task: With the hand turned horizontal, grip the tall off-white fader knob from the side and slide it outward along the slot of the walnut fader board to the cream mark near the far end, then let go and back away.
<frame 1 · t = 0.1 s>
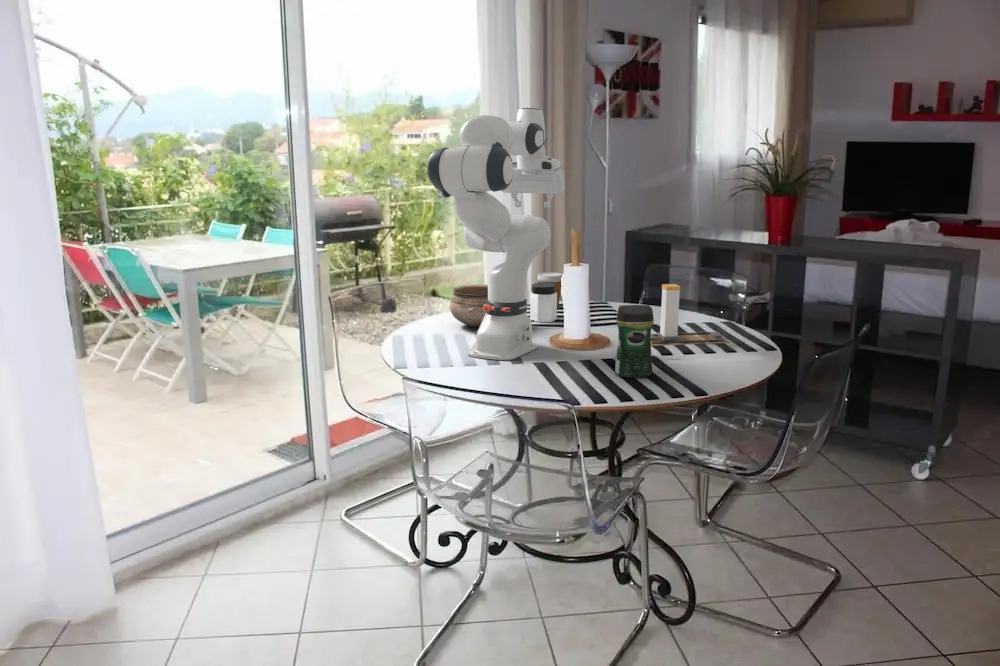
hand: (532, 207, 251), 39 cm above the table, tool pointing down, fingers open, 8 cm apart
fader board: (681, 342, 243), on the table
jar: (543, 320, 272), on the table
coffee jar: (633, 375, 212), on the table
cooking pot: (479, 326, 263), on the table
fader: (669, 311, 240), point 10 cm above the table, slide at 0.0 cm
disposable coffee cup: (549, 307, 291), on the table
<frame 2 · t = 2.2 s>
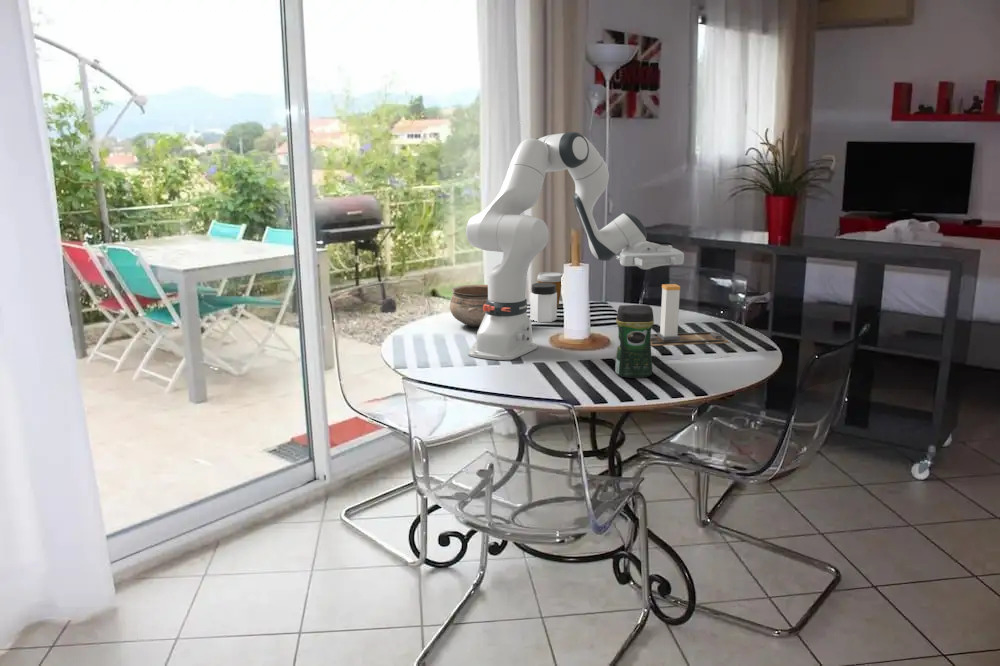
hand: (658, 262, 248), 22 cm above the table, tool horizontal, fingers open, 8 cm apart
nothing on the table moved.
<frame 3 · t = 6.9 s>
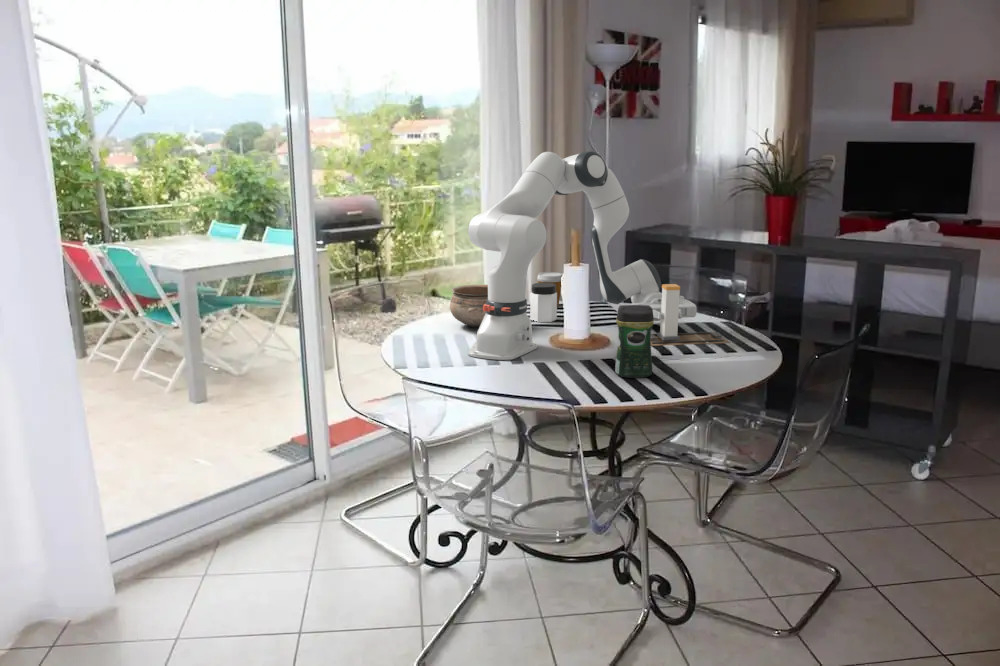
hand: (670, 316, 239), 9 cm above the table, tool horizontal, fingers closed on fader, 4 cm apart
fader: (669, 311, 240), point 10 cm above the table, slide at 0.0 cm, touching gripper
everything else where it was.
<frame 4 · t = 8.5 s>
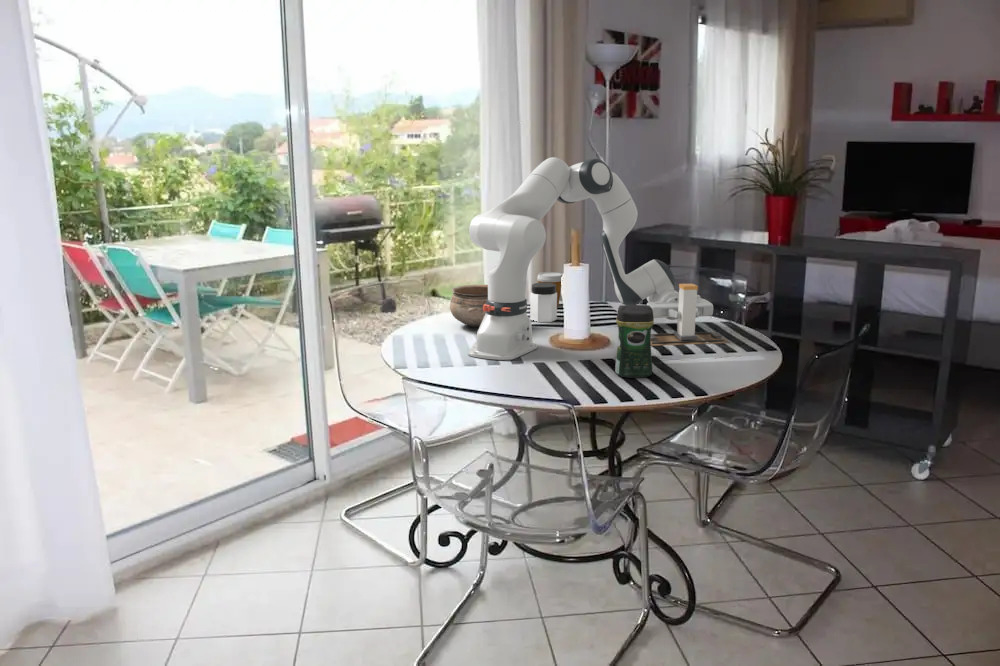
hand: (687, 315, 240), 9 cm above the table, tool horizontal, fingers closed on fader, 4 cm apart
fader: (686, 311, 240), point 10 cm above the table, slide at 5.3 cm, touching gripper
everything else where it was.
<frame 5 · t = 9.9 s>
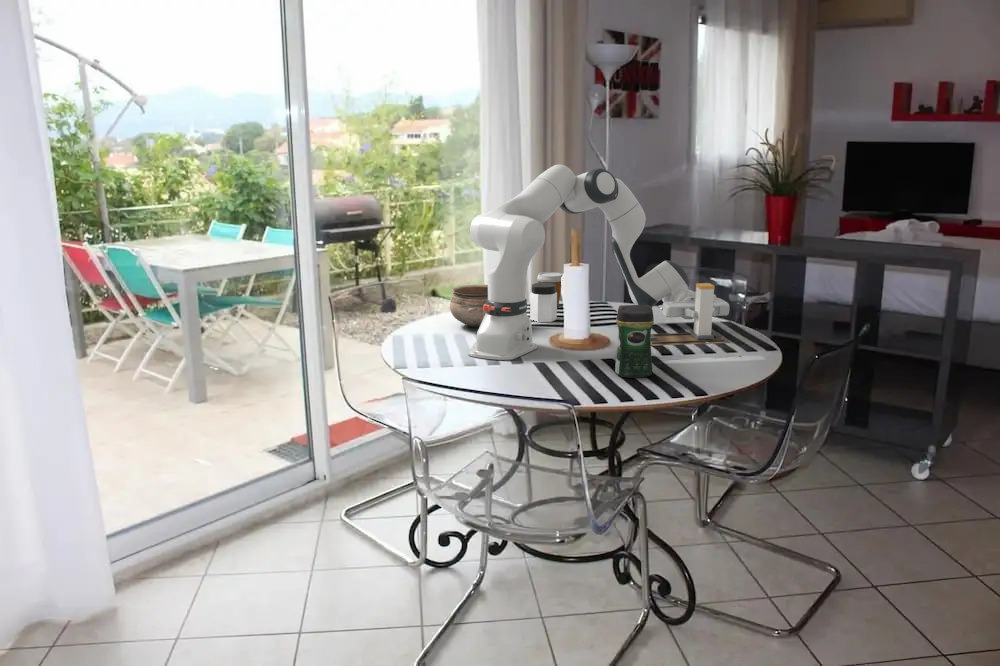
hand: (704, 314, 241), 9 cm above the table, tool horizontal, fingers closed on fader, 4 cm apart
fader: (703, 310, 241), point 10 cm above the table, slide at 10.5 cm, touching gripper
everything else where it was.
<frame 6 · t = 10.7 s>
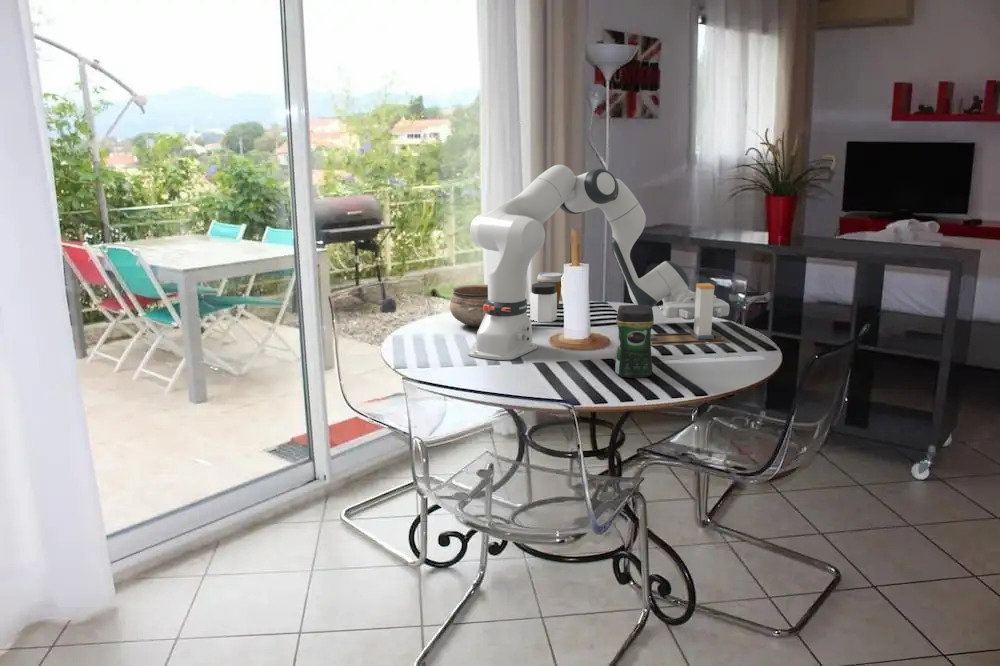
hand: (704, 315, 240), 9 cm above the table, tool horizontal, fingers open, 8 cm apart
fader: (703, 310, 241), point 10 cm above the table, slide at 10.5 cm
everything else where it was.
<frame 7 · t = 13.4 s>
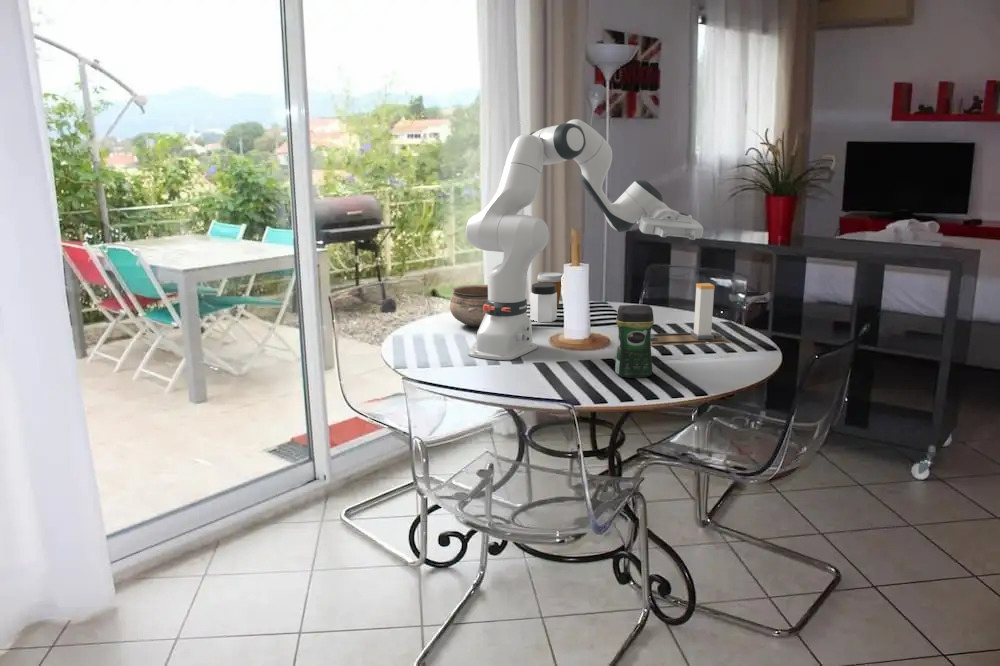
hand: (678, 236, 248), 30 cm above the table, tool horizontal, fingers open, 8 cm apart
nothing on the table moved.
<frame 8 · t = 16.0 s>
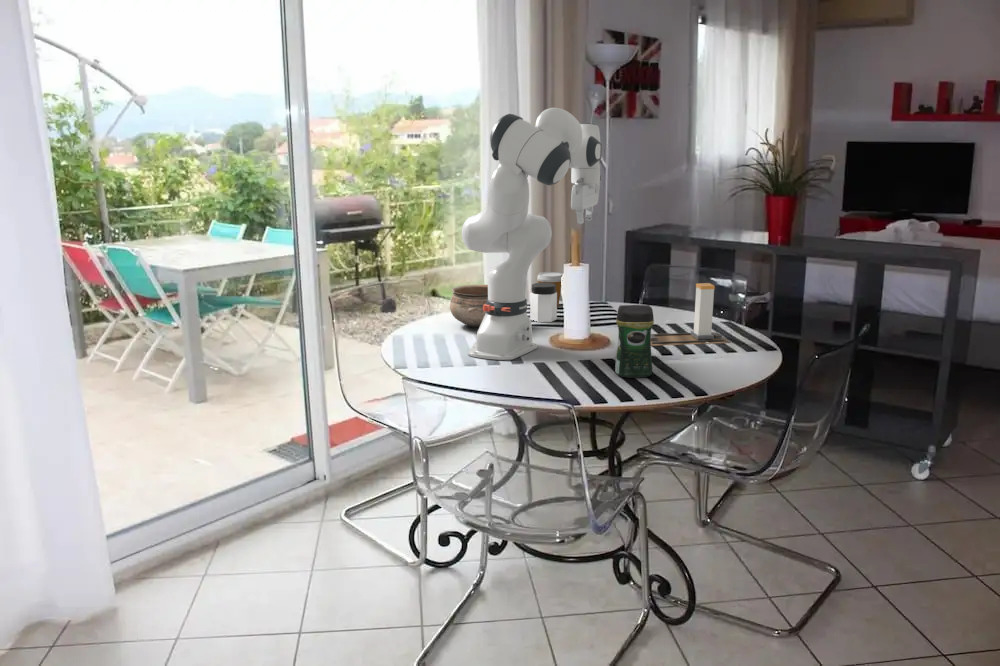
hand: (584, 222, 253), 34 cm above the table, tool pointing down, fingers open, 8 cm apart
nothing on the table moved.
at the end: fader slide at 10.5 cm; the gripper is holding nothing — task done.
